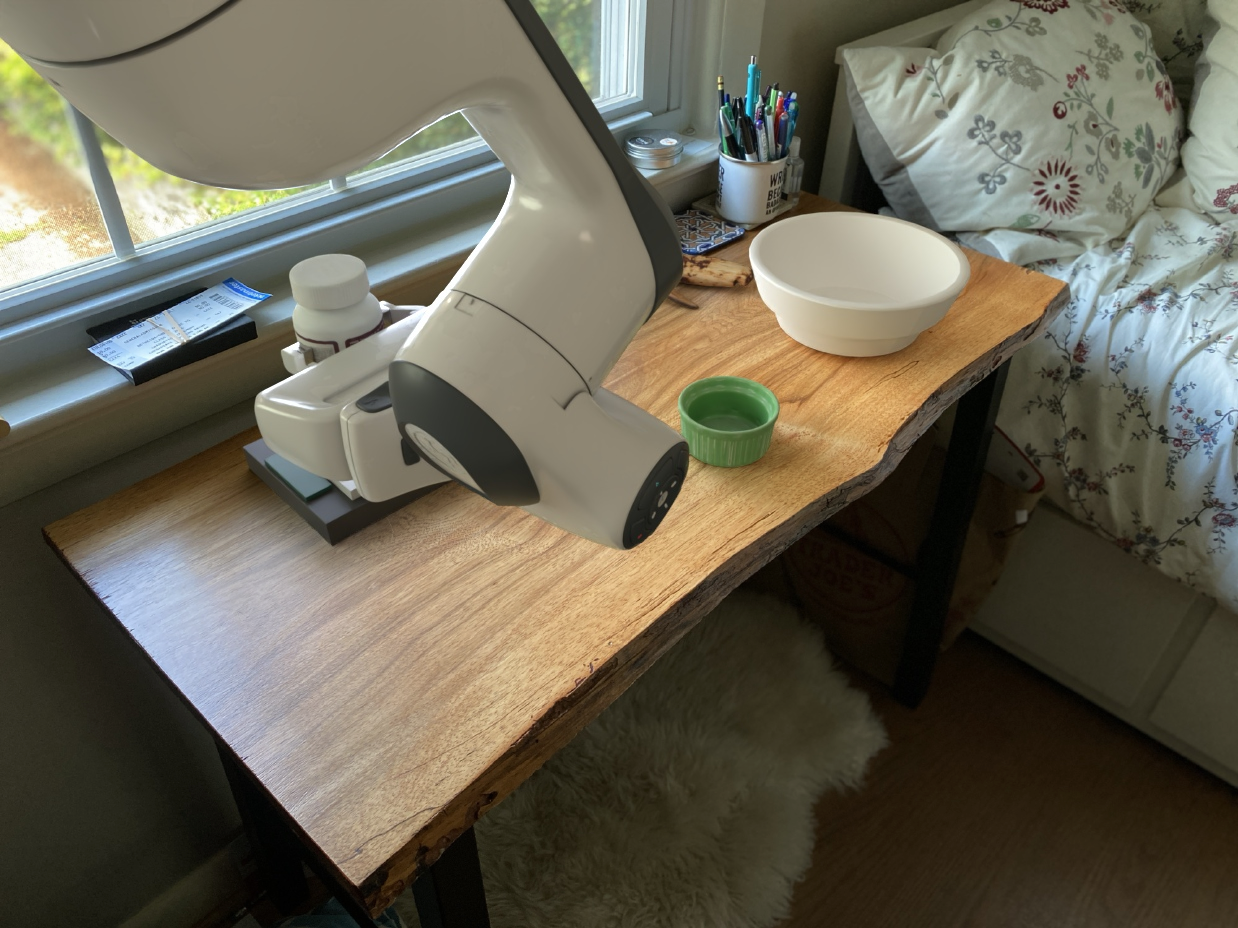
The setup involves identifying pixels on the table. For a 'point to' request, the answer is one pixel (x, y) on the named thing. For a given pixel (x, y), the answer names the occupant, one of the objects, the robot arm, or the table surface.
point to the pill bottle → (333, 304)
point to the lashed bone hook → (710, 275)
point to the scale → (323, 495)
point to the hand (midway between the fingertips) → (333, 333)
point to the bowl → (856, 280)
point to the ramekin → (728, 420)
